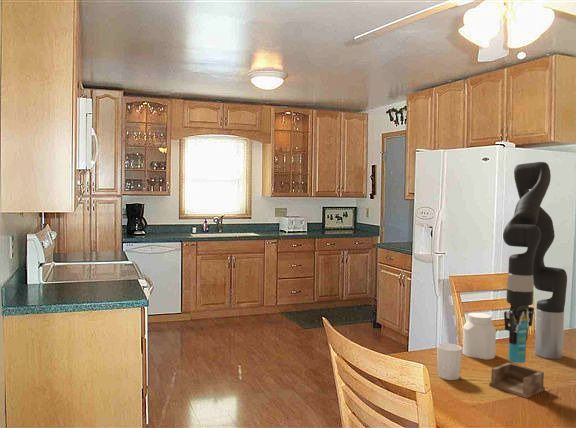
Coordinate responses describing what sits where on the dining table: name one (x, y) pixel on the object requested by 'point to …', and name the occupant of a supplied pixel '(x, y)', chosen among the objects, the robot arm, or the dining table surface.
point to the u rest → (517, 380)
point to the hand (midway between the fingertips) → (518, 341)
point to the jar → (479, 336)
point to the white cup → (449, 361)
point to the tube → (519, 343)
